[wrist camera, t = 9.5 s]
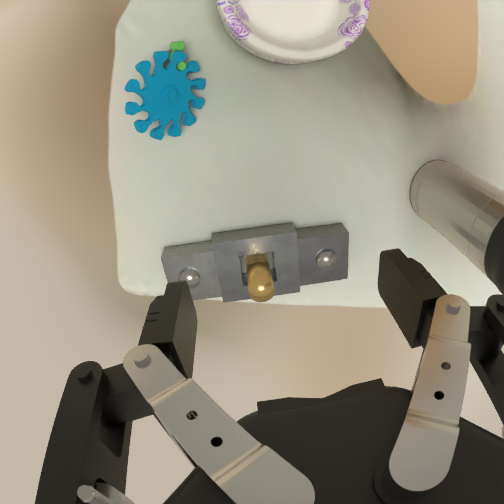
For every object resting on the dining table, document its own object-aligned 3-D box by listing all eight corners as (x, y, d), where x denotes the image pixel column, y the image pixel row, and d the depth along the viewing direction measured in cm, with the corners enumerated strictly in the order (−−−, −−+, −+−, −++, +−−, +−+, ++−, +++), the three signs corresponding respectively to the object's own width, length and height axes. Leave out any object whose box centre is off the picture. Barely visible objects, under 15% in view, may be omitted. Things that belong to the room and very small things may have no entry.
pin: (266, 246, 44) (273, 279, 37) (268, 265, 45) (275, 300, 38) (243, 249, 44) (247, 282, 37) (246, 268, 45) (250, 303, 38)
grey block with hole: (341, 216, 42) (350, 227, 39) (341, 273, 47) (348, 286, 43) (163, 240, 42) (158, 253, 39) (178, 295, 47) (175, 310, 44)
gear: (195, 146, 35) (119, 134, 27) (166, 138, 38) (96, 128, 30) (221, 57, 32) (151, 27, 24) (189, 57, 35) (123, 34, 27)
